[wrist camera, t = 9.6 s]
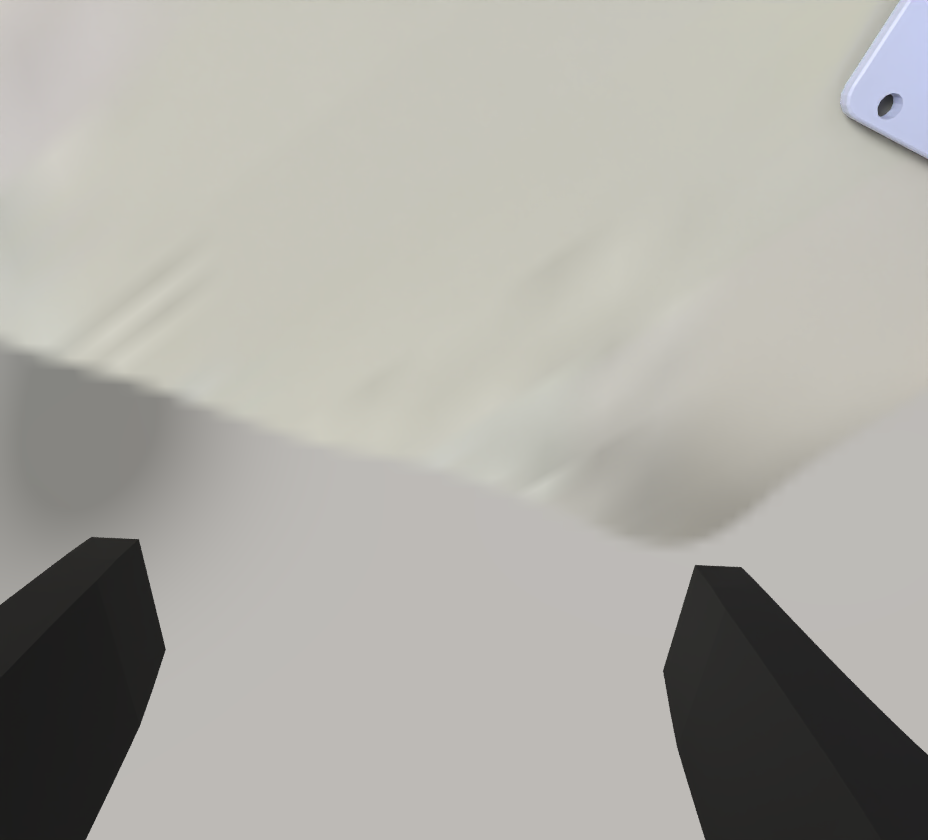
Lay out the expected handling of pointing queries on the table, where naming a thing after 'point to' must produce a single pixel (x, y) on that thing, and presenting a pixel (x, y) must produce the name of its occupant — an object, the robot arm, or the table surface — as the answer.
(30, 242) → the table surface
